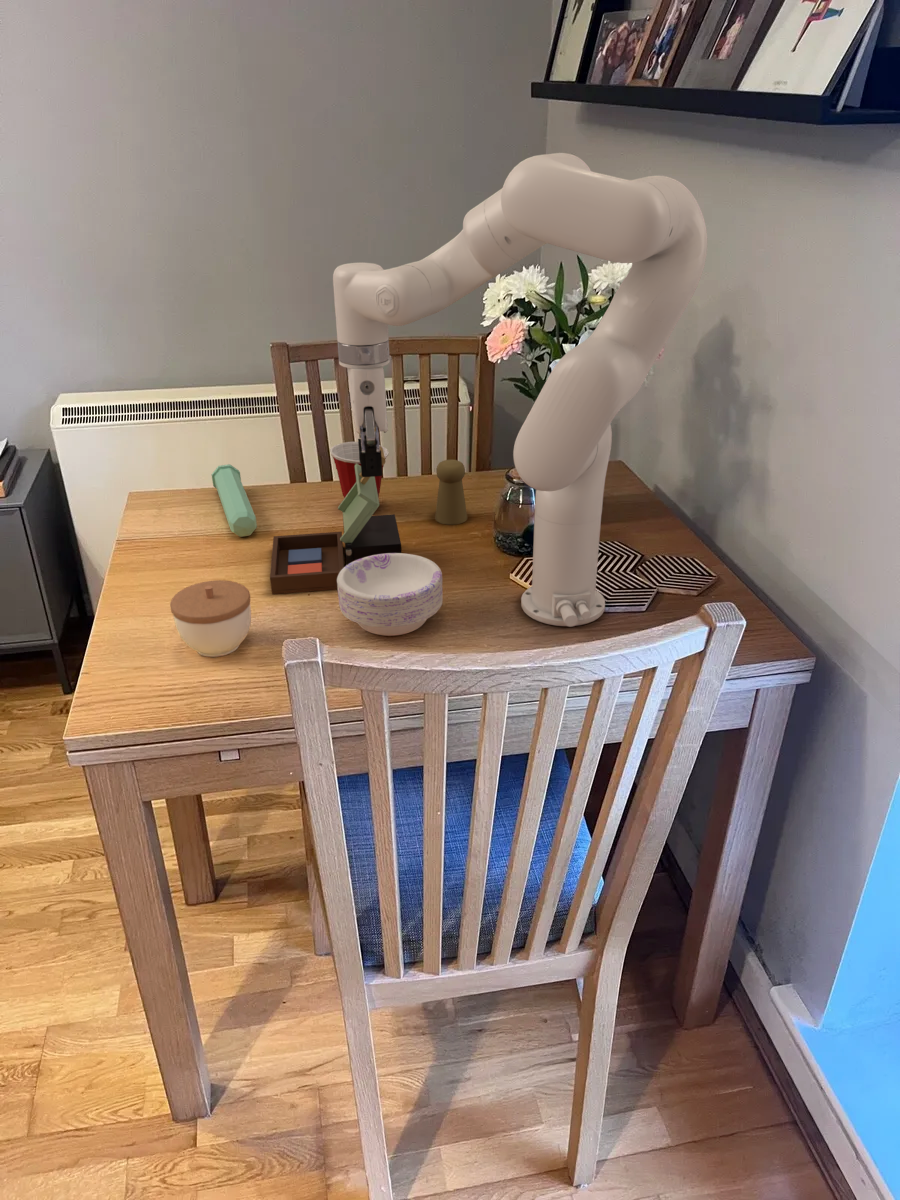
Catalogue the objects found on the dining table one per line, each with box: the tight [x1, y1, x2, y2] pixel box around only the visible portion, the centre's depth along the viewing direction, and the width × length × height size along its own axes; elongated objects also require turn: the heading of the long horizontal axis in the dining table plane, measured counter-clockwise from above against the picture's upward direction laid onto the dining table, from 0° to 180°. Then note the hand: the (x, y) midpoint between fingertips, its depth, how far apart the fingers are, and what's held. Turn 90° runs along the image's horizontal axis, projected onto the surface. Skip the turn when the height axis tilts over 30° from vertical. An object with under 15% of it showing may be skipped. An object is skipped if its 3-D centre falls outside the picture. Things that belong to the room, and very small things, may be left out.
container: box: [211, 463, 258, 538], centre depth 164 cm, size 6×6×25 cm
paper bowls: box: [337, 552, 444, 637], centre depth 127 cm, size 15×15×8 cm
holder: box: [269, 531, 345, 595], centre depth 143 cm, size 16×12×3 cm
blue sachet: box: [288, 548, 322, 565], centre depth 146 cm, size 5×6×1 cm
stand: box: [341, 511, 402, 565], centre depth 144 cm, size 17×9×8 cm, turn 8°
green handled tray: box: [337, 445, 386, 544], centre depth 139 cm, size 13×14×4 cm
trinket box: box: [169, 579, 252, 658], centre depth 121 cm, size 11×11×9 cm
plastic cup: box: [329, 441, 389, 499], centre depth 163 cm, size 11×11×12 cm
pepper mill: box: [434, 459, 468, 526], centre depth 159 cm, size 6×6×11 cm
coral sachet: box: [288, 563, 322, 574], centre depth 141 cm, size 5×6×1 cm
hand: (370, 468), depth 137 cm, fingers closed on green handled tray, 5 cm apart
